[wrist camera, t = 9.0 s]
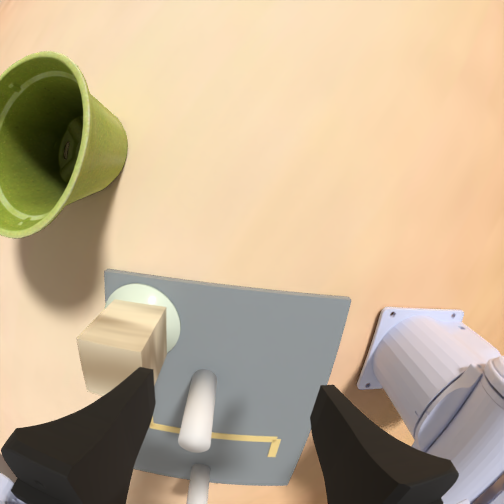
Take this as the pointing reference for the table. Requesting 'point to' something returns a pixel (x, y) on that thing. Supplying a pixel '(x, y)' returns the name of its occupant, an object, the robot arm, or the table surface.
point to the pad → (151, 297)
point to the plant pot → (52, 142)
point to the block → (122, 344)
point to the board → (237, 381)
